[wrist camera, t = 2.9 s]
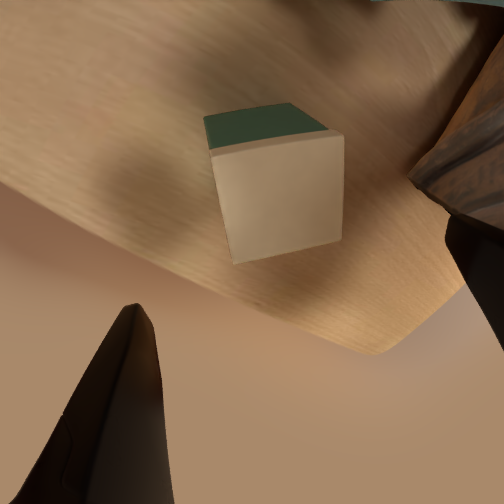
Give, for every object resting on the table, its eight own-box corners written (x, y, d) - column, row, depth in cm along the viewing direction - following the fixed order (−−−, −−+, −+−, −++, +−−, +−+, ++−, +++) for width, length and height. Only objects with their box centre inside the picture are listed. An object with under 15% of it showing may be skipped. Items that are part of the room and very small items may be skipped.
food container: (291, 100, 15) (345, 135, 10) (297, 179, 18) (341, 240, 13) (200, 115, 14) (210, 157, 10) (216, 195, 17) (233, 266, 13)
